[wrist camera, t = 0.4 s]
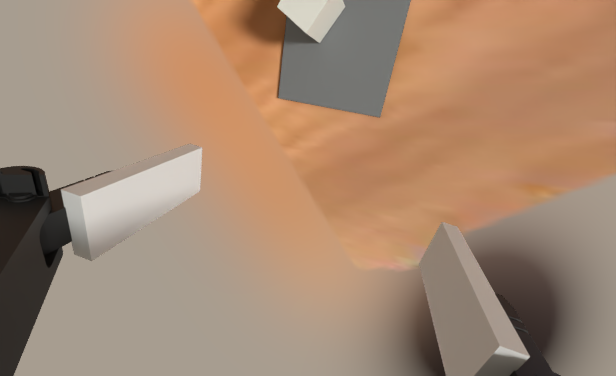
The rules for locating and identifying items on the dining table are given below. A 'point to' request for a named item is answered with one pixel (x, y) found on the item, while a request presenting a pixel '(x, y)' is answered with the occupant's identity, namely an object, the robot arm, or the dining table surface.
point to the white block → (313, 15)
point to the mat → (345, 58)
